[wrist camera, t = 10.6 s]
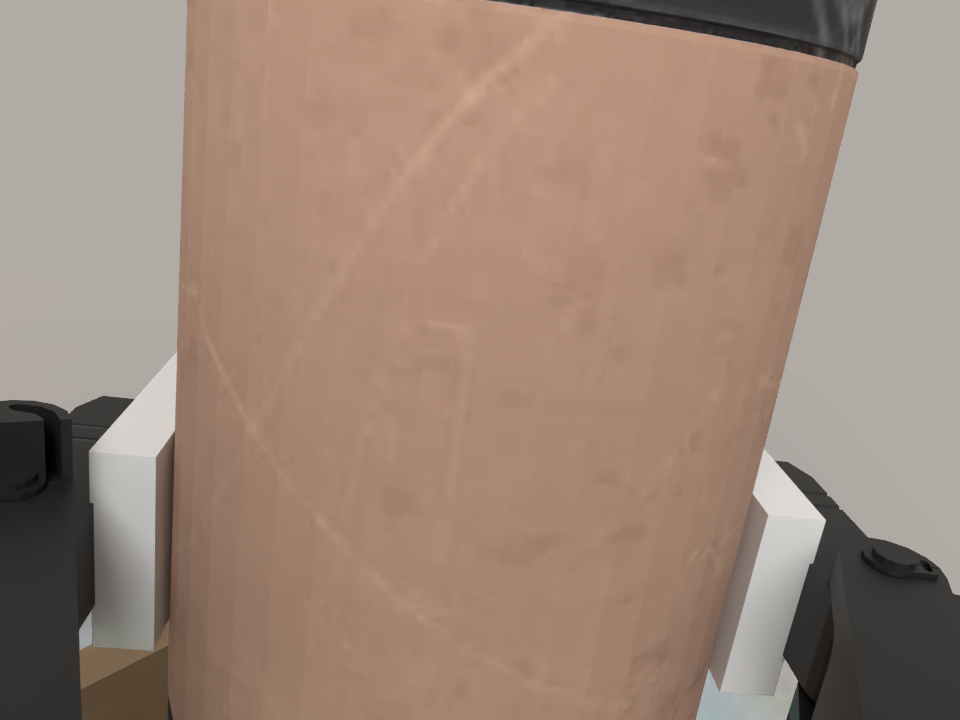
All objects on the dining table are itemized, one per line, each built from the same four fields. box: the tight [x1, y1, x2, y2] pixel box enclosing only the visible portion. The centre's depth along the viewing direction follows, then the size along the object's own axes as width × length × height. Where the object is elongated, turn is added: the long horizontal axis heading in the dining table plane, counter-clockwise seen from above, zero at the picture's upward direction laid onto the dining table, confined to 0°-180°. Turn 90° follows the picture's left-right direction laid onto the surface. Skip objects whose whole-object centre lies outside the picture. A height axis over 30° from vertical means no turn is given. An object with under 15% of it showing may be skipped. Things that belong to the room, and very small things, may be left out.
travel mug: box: [168, 0, 877, 720], centre depth 12 cm, size 8×8×20 cm
